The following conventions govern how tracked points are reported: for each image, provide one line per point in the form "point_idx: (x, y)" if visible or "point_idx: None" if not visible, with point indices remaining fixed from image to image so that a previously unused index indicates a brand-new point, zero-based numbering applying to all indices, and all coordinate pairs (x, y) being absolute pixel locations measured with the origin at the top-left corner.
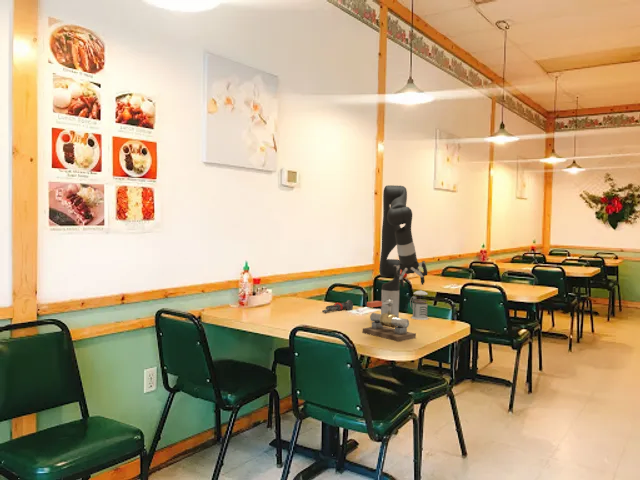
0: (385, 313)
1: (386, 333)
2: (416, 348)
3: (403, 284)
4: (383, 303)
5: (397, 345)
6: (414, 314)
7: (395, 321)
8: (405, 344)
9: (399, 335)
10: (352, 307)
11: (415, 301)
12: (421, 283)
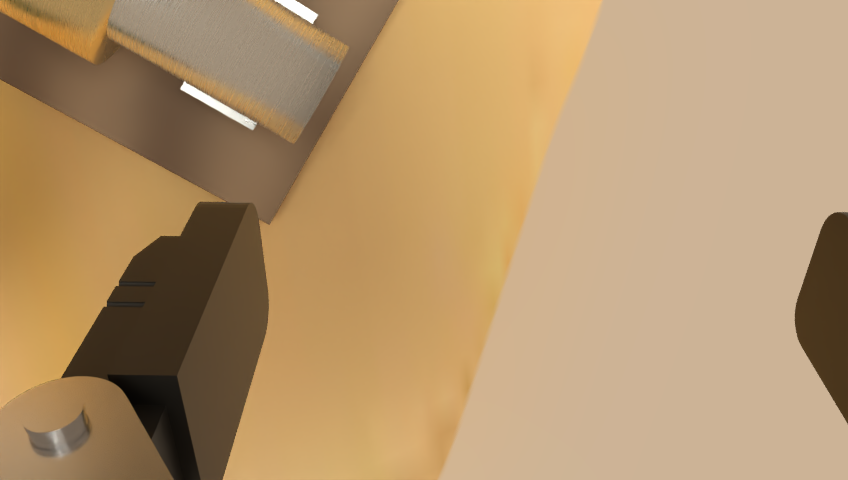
0: None
1: (103, 109)
2: (454, 402)
3: (253, 369)
4: None
5: (286, 370)
6: None
7: (173, 73)
8: (347, 304)
9: (259, 153)
10: None
11: None
12: (813, 365)
